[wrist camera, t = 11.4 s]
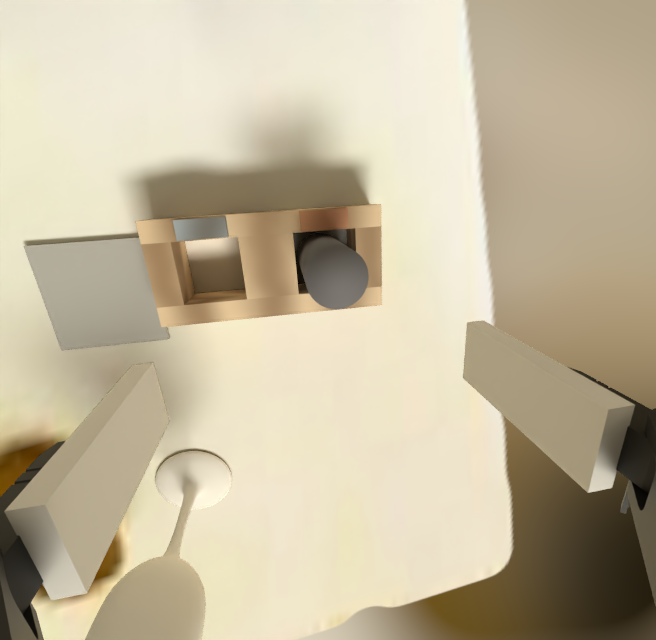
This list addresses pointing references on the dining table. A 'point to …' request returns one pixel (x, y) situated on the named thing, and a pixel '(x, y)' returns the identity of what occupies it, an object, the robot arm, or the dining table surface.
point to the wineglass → (166, 563)
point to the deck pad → (97, 292)
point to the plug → (332, 271)
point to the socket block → (253, 261)
